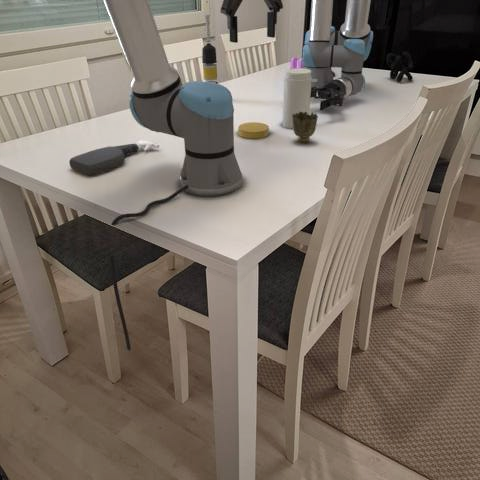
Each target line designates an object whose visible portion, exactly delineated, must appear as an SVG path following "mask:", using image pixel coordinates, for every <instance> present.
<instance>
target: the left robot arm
mask: <svg viewBox="0 0 480 480" xmlns="http://www.w3.org/2000/svg"><path fill="white" fill-rule="evenodd" d="M243 1H244V0H223V1H222V3H221V7H220V14H223V15H225V16H226V22H227V23H226V26H227V29H228V30H229V31H228V32H229V42H230V43H235V44H237V43H238V42H239V39H238V36H239V34H238V33H239V32H238V15H236V13H237V11H238V10H239V8H240V6H241V5H242V3H243ZM263 1H264V4H265V5H266V7H267V8H268V10H269V11H267V12H266V13H267V14H266V20H267V21H266V37H267V38H273V39H274V38H276V25H277V23H278V13H280V12H281V10H283V8H284V5H283V1H282V0H263ZM103 2H104V5H105V7H106V11H107V12H108V13H107V14H108V15H109V17H110V20H111V22H112V23H111V24H112V25H113V28H114V30H115V33H116V36H117V38H118V40H119V44H120V46H121V49H122V51H123V53H124V56H125V58H126V61H127V64H128V66H129V69H130V71H131V73H132V76H133V79H132V81H131V84H130V89H131V90H130V93H129V97H130V100H129V101H128V103H129V109H130V113H131V115H132V117H133V119H134V120H135V121H136V123H138V125H140V126H141V127H143V128H145V129H147V130H149V131H151V132H155V133H161V134H166V135H170V136H172V137H173V136H174V137H177V138H182V139H183V141H184V142H183V143H184V154H185V155H184V158H183V164H182V168H181V171H180V176H179V183H180V184H179V185H180V188H179V189H177V190H176V191H175V192H173V193H172V194H170V195H169V196H167V197H165V198H162V199H157V200H153V201H151V202H149V203H148V204H147V205H146V206H145V208H144V209H143V210H142V211H140V212H134V213H123V214H120V215H118V216H116V217H115V218H114V219H113V221H112V222H111V224H110V226H115V225H117V223H118V222H119V221H120V220H123V219H126V218H139V217H142V216H145V215H146V214H147V213H148V212H149V211H150V209H151V208H152V207H153V206H156V205H159V204H164V203H167V202H169V201H171V200H172V199H174V198H175V197H177V196H178V195H180V194H181V193H183V192H186V193H187V194H190V195H194V196H199V197H221V196H224V195H229V194H232V193H234V192H235V191H237V190H239V189H240V188H241V187H242V185H243V174H242V171H241V168H240V165H239V163H238V160H237V157H236V154H235V132H234V131H235V129H234V127H235V126H234V123H235V121H234V114H235V113H234V112H235V108H234V102H233V95H232V93H231V91H230V90H229V88H227V86H224V85H222V84H219V83H215V82H207V81H203V80H193V81H192V80H191V81H188V82H185V83H183V81H182V78H181V76H180V73H179V71H178V70H177V69H176V68H175V67H173V66H170V63H169V60H168V57H167V54H166V51H165V47H164V44H163V41H162V39H161V35H160V33H159V30H158V29H159V28H158V26H157V23H156V20H155V16H154V14H153V11H152V8H151V5H150V2H149V0H103ZM109 259H110V270H111V271H110V272H111V279H112V285H113V290H114V296H115V300H116V304H117V308H118V313H119V317H120V322H121V325H122V329H123V334H124V339H125V344H126V349H127V351H131V349H132V347H131V341H130V337H129V332H128V328H127V327H128V326H127V322H126V318H125V314H124V310H123V306H122V302H121V297H120V291H119V287H118V281H117V274H116V273H117V272H116V261H115V260H116V259H115V255H110V256H109Z"/></svg>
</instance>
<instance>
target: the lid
mask: <svg viewBox="0 0 480 480" xmlns="http://www.w3.org/2000/svg"><path fill="white" fill-rule="evenodd" d="M237 128H238V132H237V133H238V136H239V137H241V138H244V139H250V140H252V139H253V140H254V139H255V140H256V139H262V138H265V137H268V136H269V132H270V129H269V125H268V124H266V123H263V122H255V121H253V122H252V121H251V122H244V123H241V124H239V125H238V127H237Z"/></svg>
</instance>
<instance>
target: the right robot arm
mask: <svg viewBox="0 0 480 480" xmlns="http://www.w3.org/2000/svg"><path fill="white" fill-rule="evenodd" d="M371 1H372V0H346V8H345V16H344V23H342V24H341V26H340V29H339V30H336V28H335V26H333V25H332V19H333V10H334V9H333V8H334V0H311V6H310V20H309V22H310V23H309V30H307V31H306V33H305V38H304V45H303V48H302V57H301V58H302V63H303V65H304V68H303V69H309V70H311V77H312V80H311V95H310V99H313V98H314V99H315V100H317V99H318V100H319V99H320V104H319V110H320V111H323V110H326V109H328V108H330V107H331V108H332V107H333V106H334V107H337V106H338V107H343V105H344V102H345V101H346V100H347V98H348V97H351V96H354V95H355V96H356V95H357V94H358V93H360V92H361V91H363V90H364V89H365V86H366V79H365V76H364V74H363V66H364V62H365V61H366V60H367V59H368V57H369V56H370V53H371V50H372V46H373V45H372V44H373V40H374V31H373V30H371V26H370V24H368V21H369V15H370V7H371ZM332 68H341V71H340V77H336V78H334V77H335V76H336V72H334V71H333V70H332Z"/></svg>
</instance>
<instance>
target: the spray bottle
mask: <svg viewBox="0 0 480 480" xmlns="http://www.w3.org/2000/svg"><path fill="white" fill-rule="evenodd" d="M159 148H160V145H159V144H158V143H155V142H151V141H148V140H144V139H139V140H138V141H137V142H135V143H129V144H128V143H126V144H122V145H113V146H105V147H100V148H97V149H94V150H90V151H87V152H83V153H81V154H78V155H74V156H73V157H70V159H69V161H68V162H69V167H70V168H71V169H72V170H74V171H75V172H78V173H81V174H83V175H85V176H89V177H90V176H91V177H92V176H95V175H99V174H102V173H105V172H107V171H110V170H113V169H116V168H118V167H120V166H122V165H123V164H124V163H125V158H126V156H127V155H131V154H133V153H138V151H140V150H143V151H144V152H146V151H147V150H149V149H159Z"/></svg>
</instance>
